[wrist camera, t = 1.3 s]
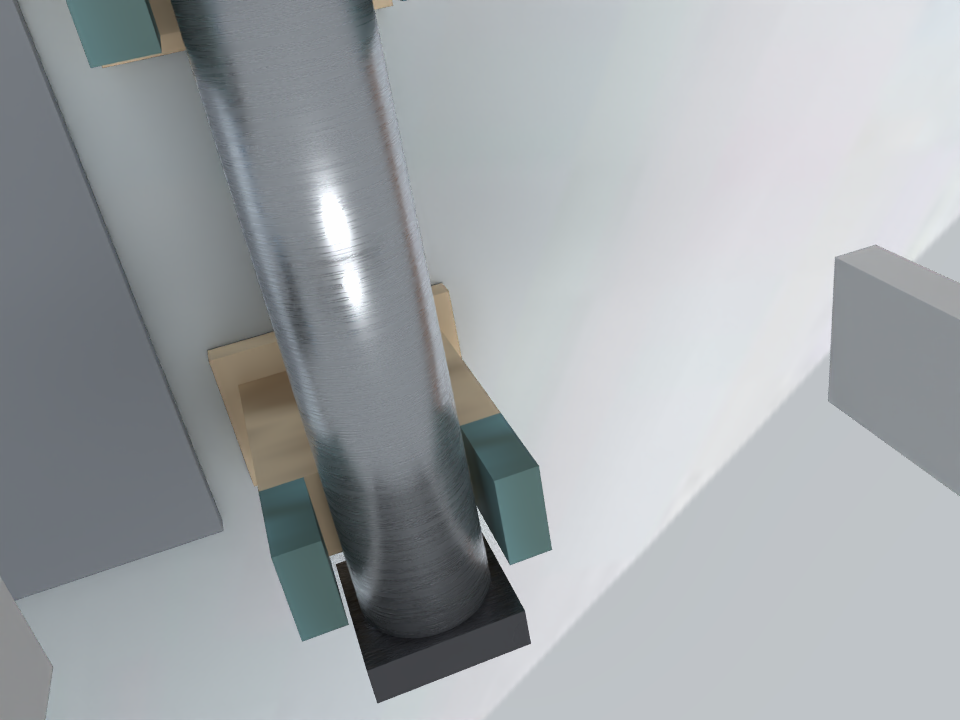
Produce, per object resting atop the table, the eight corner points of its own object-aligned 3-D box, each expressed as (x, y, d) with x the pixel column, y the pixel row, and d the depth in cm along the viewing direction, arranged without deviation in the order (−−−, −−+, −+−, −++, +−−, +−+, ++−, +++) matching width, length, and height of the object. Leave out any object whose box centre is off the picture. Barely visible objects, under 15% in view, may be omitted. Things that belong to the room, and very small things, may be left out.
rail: (479, 546, 26) (530, 643, 23) (345, 594, 25) (377, 703, 22) (308, -270, 16) (352, -324, 13) (78, -237, 15) (57, -285, 12)
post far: (251, 474, 30) (290, 680, 22) (207, 350, 28) (232, 530, 20) (465, 404, 32) (576, 572, 24) (441, 282, 30) (555, 422, 21)
